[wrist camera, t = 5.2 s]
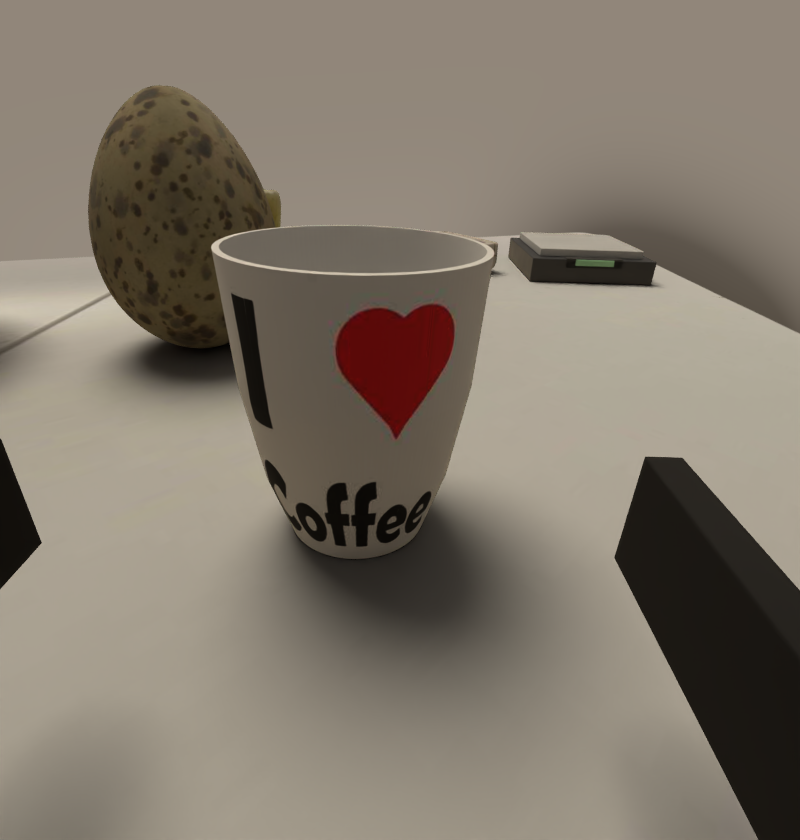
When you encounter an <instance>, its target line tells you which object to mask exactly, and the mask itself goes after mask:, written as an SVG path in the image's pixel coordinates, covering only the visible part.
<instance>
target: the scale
mask: <svg viewBox="0 0 800 840" xmlns="http://www.w3.org/2000/svg"><path fill="white" fill-rule="evenodd" d="M643 254H644V252H643V251H641V250H639V249H637V248H635V247H632V246H630V245H628V244H626V243H624V242H622V241H619V240H617V239H615V238H613V237H611V236H609V235H587V234H557V233H527V232H521V233H520V238H511V240H510V248H509V255H508V257H509V258H510V259H511V260H512V262H513V263H514V264H515V265H516V266H517V267H518V268H519V269H520V270H521V272H522V273H523V274H524V275H525V276H526V277H527V278H528V279H529V280H530V281H543V282H573V283H603V284H634V285H651V282H652V278H653V274H654V271H655V267H656V262H655V261H653V260H650V259H648V258H646V257H644V256H643Z"/></svg>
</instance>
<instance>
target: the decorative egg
mask: <svg viewBox="0 0 800 840" xmlns="http://www.w3.org/2000/svg"><path fill="white" fill-rule="evenodd" d="M88 213H89V214H88V215H89V230H90V236H91V243H92V248H93V252H94V256H95V260H96V263H97V266H98V269H99V271H100V273H101V276H102V278H103V280H104V282H105V284H106V286H107V288H108V290H109V291H110V293H111V294H112V296H113V297H114V299H115V300H116V302H117V303H118V304H119V306H120V307H121V308H122V309H123V310H124V311H125V313H126V314H127V315H129V316H130V317H131V318H132V319H133V320H134V321H135V322H136V323H137V324H139V325H140V326H141V327H142V328H144V329H145V330H147V331H148V332H150V333H151V334H153V335H155V336H157V337H158V338H160V339H163V340H165V341H167V342H170V343H173V344H176V345H179V346H184V347H189V348H212V347H217V346H220V345H224V344H226V343H229V337H228V332H227V326H226V321H225V316H224V311H223V306H222V301H221V296H220V290H219V285H218V280H217V275H216V270H215V265H214V260H213V254H212V249H211V246H212V244H213V243H214V242H215V241H217V240H219V239H221V238H224V237H226V236H230V235H233V234H237V233H242V232H247V231H253V230H260V229H269V228H276V227H275V223H274V219H273V215H272V212H271V209H270V206H269V203H268V200H267V197H266V194H265V192H264V190H263V187H262V185H261V183H260V181H259V178H258V176H257V174H256V172H255V170H254V168H253V167H252V165H251V163H250V161H249V159H248V158H247V156H246V154H245V153H244V151H243V150H242V148H241V147H240V145H239V144H238V142H237V141H236V139H235V138H234V136H233V135H232V134H231V133H230V131H229V130H228V129H227V128H226V126H225V125H224V124H223V123H222V122H221V121H220V120H219V119H218V117H217V116H216V115H215V114H214V113H212V111H211V110H210V109H209V108H207V106H205V105H204V104H203V103H202V102H200V101H199V100H198V99H196V98H195V97H193V96H192V95H190V94H188V93H187V92H185V91H183V90H181V89H178V88H175V87H171V86H160V85H159V86H150V87H147V88H145V89H142V90H141V91H139V92H137V93H135V94H134V95H133V96H132V97H130V98H129V99H128V100H127V101H126V102H125V103H124V104H123V105H122V107H121V108H120V109H119V110H118V112H117V113H116V115H115V116H114V117H113V119H112V121H111V122H110V124H109V126H108V128H107V129H106V132H105V134H104V136H103V138H102V141H101V143H100V145H99V148H98V152H97V155H96V158H95V162H94V167H93V170H92V176H91V182H90V192H89V205H88Z"/></svg>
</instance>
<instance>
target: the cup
mask: <svg viewBox="0 0 800 840" xmlns="http://www.w3.org/2000/svg"><path fill="white" fill-rule="evenodd" d="M211 249H212V254H213V260H214V265H215V270H216V275H217V280H218V285H219V290H220V296H221V301H222V306H223V311H224V316H225V321H226V326H227V332H228V337H229V342H230V347H231V352H232V357H233V362H234V368H235V373H236V378H237V383H238V387H239V391H240V394H241V397H242V400H243V403H244V406H245V410H246V413H247V416H248V419H249V422H250V425H251V428H252V432H253V435H254V438H255V441H256V444H257V447H258V451H259V454H260V457H261V460H262V463H263V466H264V469H265V473H266V476H267V478H268V480H269V482H270V484H271V486H272V488H273V490H274V492H275V494H276V496H277V498H278V500H279V502H280V504H281V506H282V508H283V510H284V511H285V513H286V515H287V517H288V519H289V521H290V523H291V525H292V527H293V529H294V531H295V533H296V534H297V536H298V537H299V538H300V539H301V540H302V541H303V542H304V543H305V544H306V545H308V546H309V547H311V548H312V549H314V550H316V551H318V552H320V553H323V554H326V555H329V556H333V557H338V558H346V559H364V558H372V557H377V556H381V555H385V554H388V553H390V552H393V551H395V550H397V549H399V548H401V547H403V546H404V545H406V544H407V543H408V542H409V541H411V540H412V539H413V538H414V536H415V535H416V534H417V533H418V531H419V529H420V527H421V525H422V523H423V521H424V519H425V517H426V515H427V513H428V510H429V508H430V506H431V504H432V502H433V500H434V498H435V496H436V494H437V492H438V490H439V487H440V485H441V483H442V481H443V479H444V477H445V475H446V471H447V468H448V465H449V461H450V458H451V454H452V451H453V447H454V444H455V440H456V437H457V434H458V430H459V427H460V423H461V420H462V416H463V413H464V410H465V406H466V403H467V399H468V396H469V392H470V389H471V385H472V379H473V373H474V368H475V362H476V356H477V350H478V345H479V339H480V333H481V327H482V321H483V316H484V310H485V304H486V298H487V292H488V287H489V281H490V275H491V269H492V263H493V258H494V251H493V249H492V248H491V247H489V246H488V245H486V244H484V243H481V242H479V241H476V240H473V239H469V238H466V237H462V236H457V235H452V234H447V233H441V232H434V231H427V230H419V229H409V228H397V227H383V226H362V225H361V226H359V225H313V226H292V227H279V228H269V229H260V230H253V231H247V232H242V233H237V234H233V235H230V236H226V237H224V238H221V239H219V240H217V241H215V242H214V243H213V244H212V246H211Z"/></svg>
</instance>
